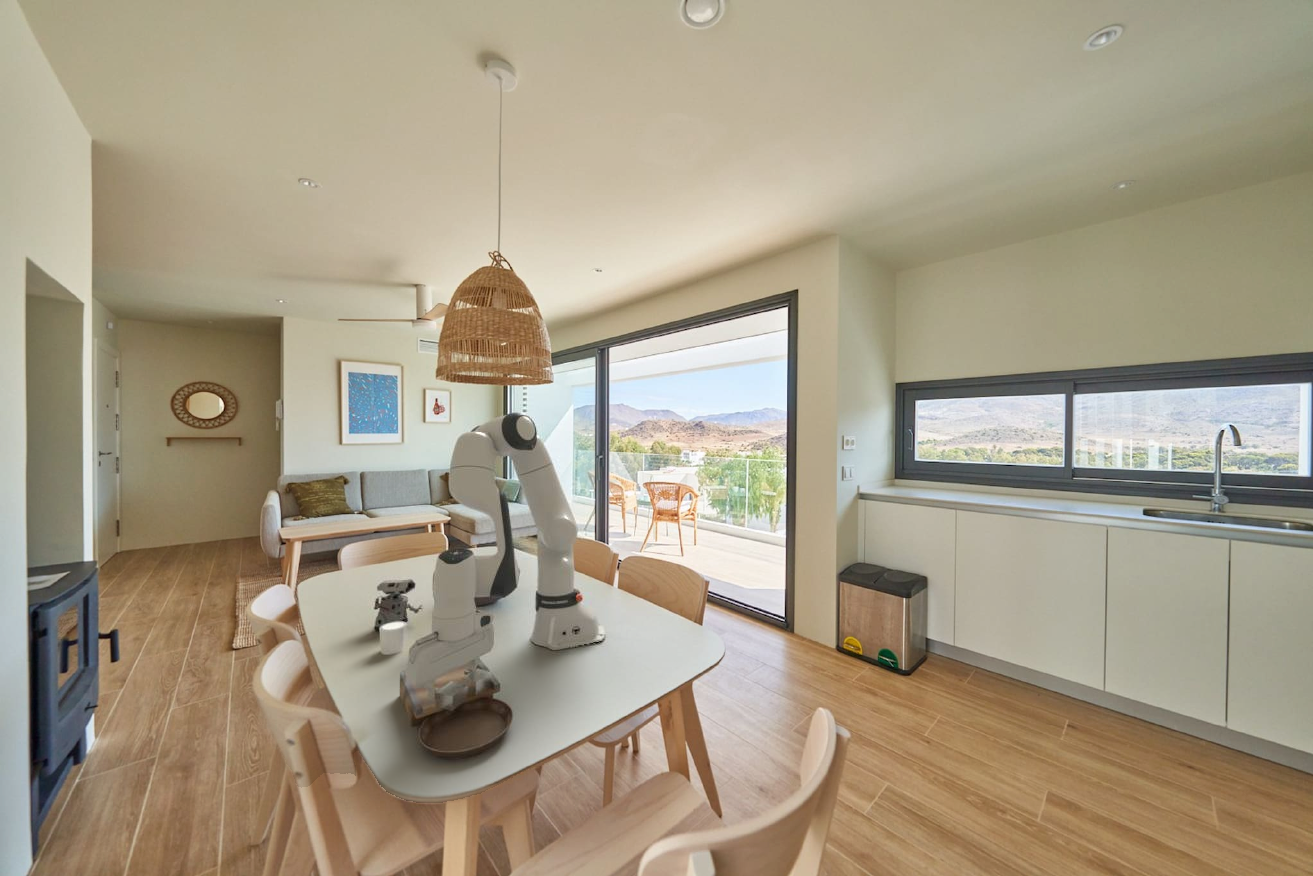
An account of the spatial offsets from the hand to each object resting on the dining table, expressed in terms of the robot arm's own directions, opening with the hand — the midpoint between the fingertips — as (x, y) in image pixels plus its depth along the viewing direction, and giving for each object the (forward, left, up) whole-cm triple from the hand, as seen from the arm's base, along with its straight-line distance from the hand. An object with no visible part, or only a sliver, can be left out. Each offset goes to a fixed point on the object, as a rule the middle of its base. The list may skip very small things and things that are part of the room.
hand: (452, 687), depth 100 cm
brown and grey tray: (+2, -5, -6) cm, 8 cm away
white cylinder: (+22, -35, -6) cm, 42 cm away
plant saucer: (-5, +9, -6) cm, 11 cm away
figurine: (+26, -52, -6) cm, 59 cm away
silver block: (-5, -1, -1) cm, 5 cm away
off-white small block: (-1, +4, -1) cm, 4 cm away
